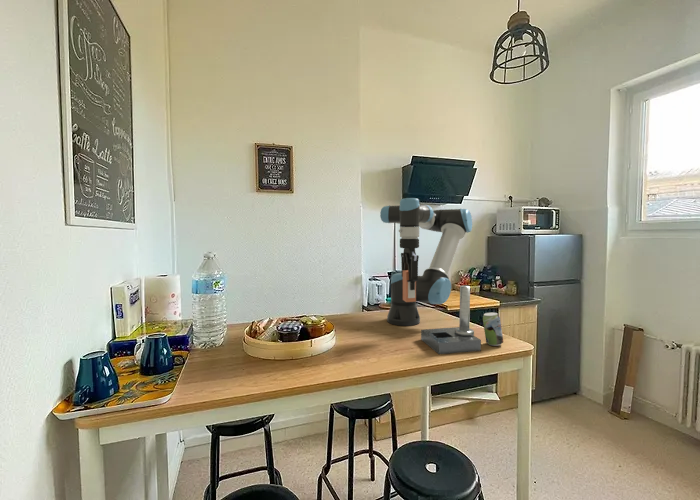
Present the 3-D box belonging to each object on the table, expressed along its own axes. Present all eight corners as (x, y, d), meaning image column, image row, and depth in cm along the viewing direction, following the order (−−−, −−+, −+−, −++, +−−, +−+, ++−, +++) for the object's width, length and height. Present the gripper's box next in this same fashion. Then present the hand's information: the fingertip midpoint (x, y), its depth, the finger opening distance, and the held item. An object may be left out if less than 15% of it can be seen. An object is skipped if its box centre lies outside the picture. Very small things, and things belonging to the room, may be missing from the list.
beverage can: (505, 348, 127) (505, 315, 126) (483, 346, 129) (484, 314, 128) (501, 342, 133) (501, 311, 132) (480, 341, 135) (481, 310, 134)
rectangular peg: (402, 299, 140) (402, 270, 139) (412, 299, 141) (412, 269, 140) (406, 302, 136) (406, 271, 135) (415, 301, 137) (415, 271, 136)
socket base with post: (421, 339, 137) (421, 284, 136) (461, 336, 140) (462, 282, 139) (439, 354, 121) (439, 292, 120) (484, 350, 125) (485, 289, 123)
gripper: (393, 237, 144) (393, 292, 146) (407, 239, 127) (407, 301, 129) (410, 236, 146) (410, 292, 147) (427, 238, 129) (426, 300, 131)
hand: (409, 296), depth 138 cm, fingers closed on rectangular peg, 4 cm apart
